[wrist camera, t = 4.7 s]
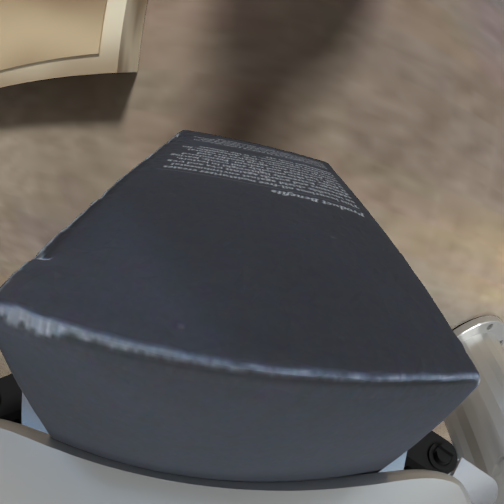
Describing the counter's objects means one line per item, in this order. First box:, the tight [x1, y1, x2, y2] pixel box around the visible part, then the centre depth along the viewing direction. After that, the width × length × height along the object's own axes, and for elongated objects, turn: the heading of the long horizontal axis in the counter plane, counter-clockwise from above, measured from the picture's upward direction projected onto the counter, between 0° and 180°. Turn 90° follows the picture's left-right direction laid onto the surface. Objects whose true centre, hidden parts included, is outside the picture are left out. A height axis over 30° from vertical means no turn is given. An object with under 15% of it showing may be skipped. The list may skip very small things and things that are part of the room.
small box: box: [0, 130, 480, 482], centre depth 9 cm, size 11×6×10 cm, turn 167°
